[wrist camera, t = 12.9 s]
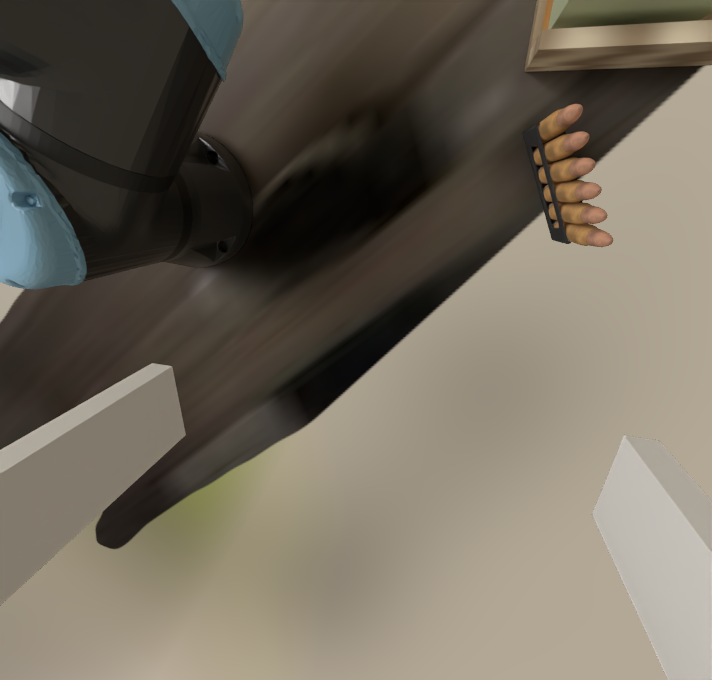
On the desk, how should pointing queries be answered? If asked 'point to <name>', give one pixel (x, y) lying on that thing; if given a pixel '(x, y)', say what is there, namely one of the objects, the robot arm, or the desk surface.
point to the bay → (617, 44)
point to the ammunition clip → (565, 179)
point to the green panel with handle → (625, 12)
